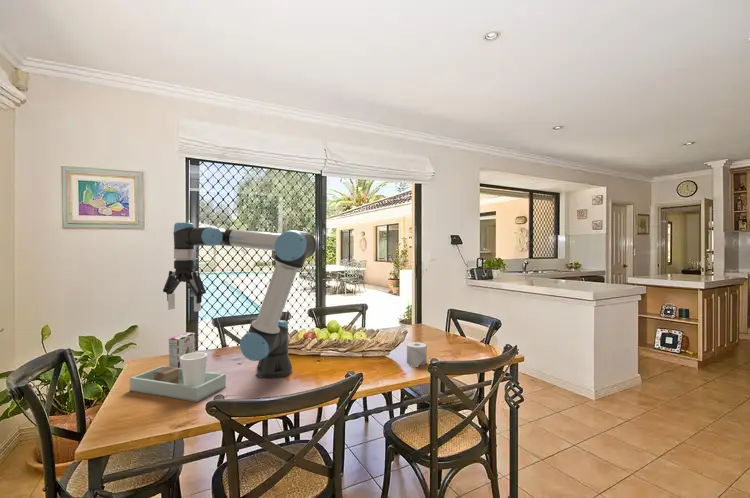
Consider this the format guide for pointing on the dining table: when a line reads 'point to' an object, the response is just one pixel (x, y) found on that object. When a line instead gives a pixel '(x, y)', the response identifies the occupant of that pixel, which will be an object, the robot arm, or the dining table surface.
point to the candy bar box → (180, 348)
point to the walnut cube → (167, 375)
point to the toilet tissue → (416, 353)
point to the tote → (177, 385)
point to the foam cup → (193, 368)
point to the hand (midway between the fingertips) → (184, 310)
